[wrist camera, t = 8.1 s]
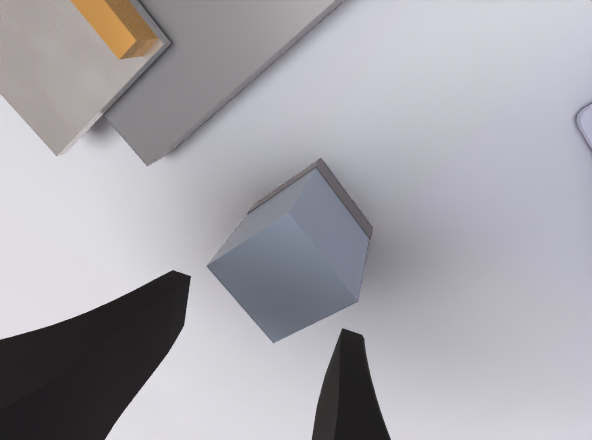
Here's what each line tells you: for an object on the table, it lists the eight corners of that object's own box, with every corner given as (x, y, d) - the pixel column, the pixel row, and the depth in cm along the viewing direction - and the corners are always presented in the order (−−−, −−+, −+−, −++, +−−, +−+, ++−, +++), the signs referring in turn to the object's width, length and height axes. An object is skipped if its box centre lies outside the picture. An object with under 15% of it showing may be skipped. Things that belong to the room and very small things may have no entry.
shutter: (171, 43, 17) (141, 46, 15) (66, 152, 20) (30, 166, 18) (26, -142, 15) (-27, -163, 13) (-62, 9, 18) (-115, 9, 16)
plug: (373, 227, 20) (360, 301, 15) (305, 266, 22) (272, 344, 17) (321, 157, 20) (288, 210, 14) (255, 203, 21) (204, 265, 16)
